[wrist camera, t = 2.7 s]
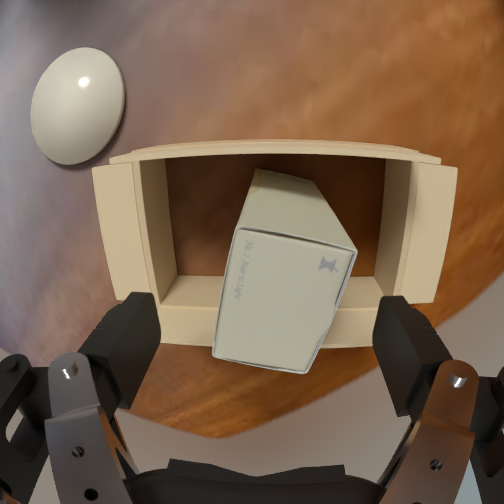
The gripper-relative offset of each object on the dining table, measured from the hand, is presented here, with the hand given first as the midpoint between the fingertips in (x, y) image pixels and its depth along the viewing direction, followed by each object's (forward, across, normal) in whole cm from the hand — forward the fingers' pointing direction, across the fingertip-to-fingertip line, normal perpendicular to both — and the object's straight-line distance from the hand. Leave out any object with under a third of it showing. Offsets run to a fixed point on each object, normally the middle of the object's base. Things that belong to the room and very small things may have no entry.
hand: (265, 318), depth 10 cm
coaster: (+13, +16, -10) cm, 22 cm away
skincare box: (+13, 0, 0) cm, 13 cm away
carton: (+13, 0, 0) cm, 13 cm away
